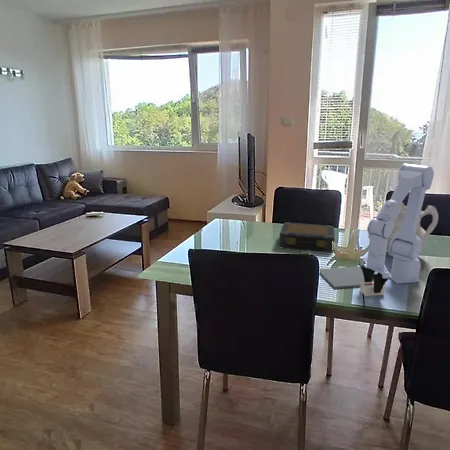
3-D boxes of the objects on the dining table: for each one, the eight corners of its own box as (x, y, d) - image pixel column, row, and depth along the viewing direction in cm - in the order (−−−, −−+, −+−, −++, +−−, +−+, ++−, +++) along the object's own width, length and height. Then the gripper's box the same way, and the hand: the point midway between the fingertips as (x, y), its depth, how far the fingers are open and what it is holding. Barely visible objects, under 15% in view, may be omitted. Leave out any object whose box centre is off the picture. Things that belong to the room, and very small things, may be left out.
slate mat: (363, 268, 156) (363, 266, 156) (384, 285, 141) (385, 283, 140) (317, 271, 153) (317, 269, 153) (334, 288, 138) (334, 286, 137)
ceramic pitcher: (431, 256, 171) (440, 202, 166) (429, 268, 155) (439, 208, 150) (381, 248, 182) (388, 197, 177) (374, 258, 166) (381, 202, 160)
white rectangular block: (377, 290, 137) (379, 281, 136) (383, 295, 134) (385, 285, 132) (359, 291, 136) (360, 282, 135) (365, 296, 132) (366, 287, 131)
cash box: (332, 239, 191) (334, 225, 189) (333, 253, 172) (334, 237, 170) (283, 235, 197) (284, 221, 195) (278, 248, 179) (279, 233, 176)
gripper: (356, 246, 137) (352, 280, 141) (377, 261, 123) (372, 298, 127) (374, 245, 138) (369, 279, 142) (397, 260, 124) (392, 297, 128)
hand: (372, 288), depth 134 cm, fingers open, 6 cm apart
